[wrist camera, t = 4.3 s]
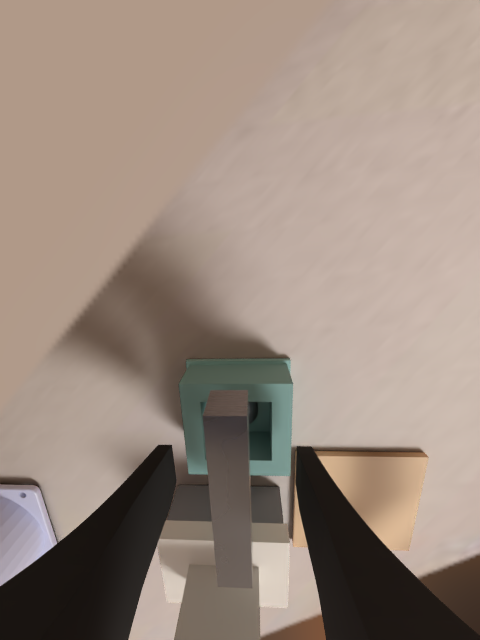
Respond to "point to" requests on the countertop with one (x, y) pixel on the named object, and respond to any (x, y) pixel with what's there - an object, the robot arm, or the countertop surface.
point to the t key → (230, 483)
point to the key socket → (263, 387)
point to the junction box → (196, 506)
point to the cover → (201, 580)
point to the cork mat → (375, 491)
